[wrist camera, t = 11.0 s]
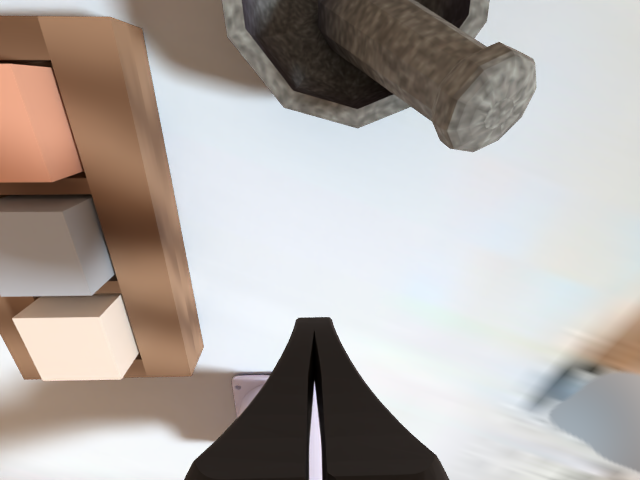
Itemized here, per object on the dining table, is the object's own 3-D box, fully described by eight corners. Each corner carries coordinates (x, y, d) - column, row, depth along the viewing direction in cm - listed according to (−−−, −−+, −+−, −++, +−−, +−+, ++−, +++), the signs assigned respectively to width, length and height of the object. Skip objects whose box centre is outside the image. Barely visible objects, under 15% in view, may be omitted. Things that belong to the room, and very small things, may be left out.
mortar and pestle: (210, -3, 17) (22, -179, 6) (355, -164, 14) (494, -956, 4) (342, 165, 21) (378, 249, 10) (474, 59, 18) (716, 12, 7)
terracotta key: (96, 166, 19) (52, 182, 15) (7, 167, 19) (-56, 182, 15) (68, 69, 17) (10, 63, 13) (-32, 68, 16) (-114, 63, 13)
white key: (146, 341, 24) (121, 379, 21) (78, 342, 24) (42, 381, 21) (130, 284, 22) (99, 317, 19) (55, 285, 22) (11, 318, 19)
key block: (203, 346, 26) (191, 376, 24) (54, 349, 26) (24, 379, 23) (141, 28, 17) (110, 16, 14) (-90, 27, 17) (-168, 15, 14)
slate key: (124, 265, 21) (91, 295, 18) (47, 266, 21) (1, 296, 18) (103, 191, 19) (62, 211, 16) (17, 192, 19) (-41, 212, 16)
